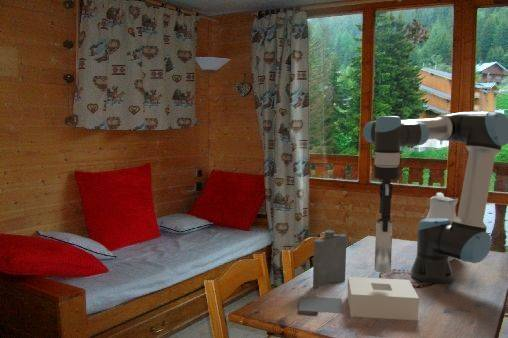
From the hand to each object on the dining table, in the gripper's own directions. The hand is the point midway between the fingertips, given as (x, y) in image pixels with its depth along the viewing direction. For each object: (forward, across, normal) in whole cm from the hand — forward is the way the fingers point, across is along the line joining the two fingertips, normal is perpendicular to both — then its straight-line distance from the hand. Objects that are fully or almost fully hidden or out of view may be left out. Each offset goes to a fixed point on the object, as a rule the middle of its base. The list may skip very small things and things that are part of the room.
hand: (383, 238), depth 152 cm
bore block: (+24, 0, 0) cm, 24 cm away
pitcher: (+24, -68, +29) cm, 78 cm away
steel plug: (+10, 0, 0) cm, 10 cm away
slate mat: (+24, +2, -19) cm, 30 cm away
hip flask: (+24, -22, -18) cm, 37 cm away
